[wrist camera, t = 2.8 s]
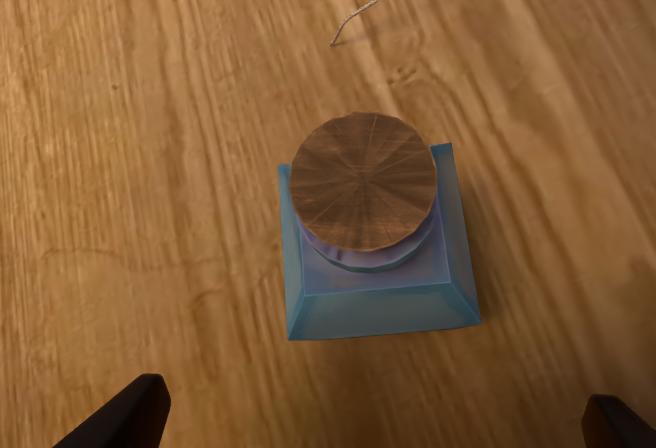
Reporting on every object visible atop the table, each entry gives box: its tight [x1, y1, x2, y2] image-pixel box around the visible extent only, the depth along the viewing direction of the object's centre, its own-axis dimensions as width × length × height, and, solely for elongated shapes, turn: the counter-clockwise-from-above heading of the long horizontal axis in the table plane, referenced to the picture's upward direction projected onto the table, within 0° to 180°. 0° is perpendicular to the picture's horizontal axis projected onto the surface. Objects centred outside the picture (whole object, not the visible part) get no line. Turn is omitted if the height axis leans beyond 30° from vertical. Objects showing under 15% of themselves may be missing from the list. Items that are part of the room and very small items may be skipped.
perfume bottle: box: [278, 112, 482, 341], centre depth 15 cm, size 6×6×12 cm
